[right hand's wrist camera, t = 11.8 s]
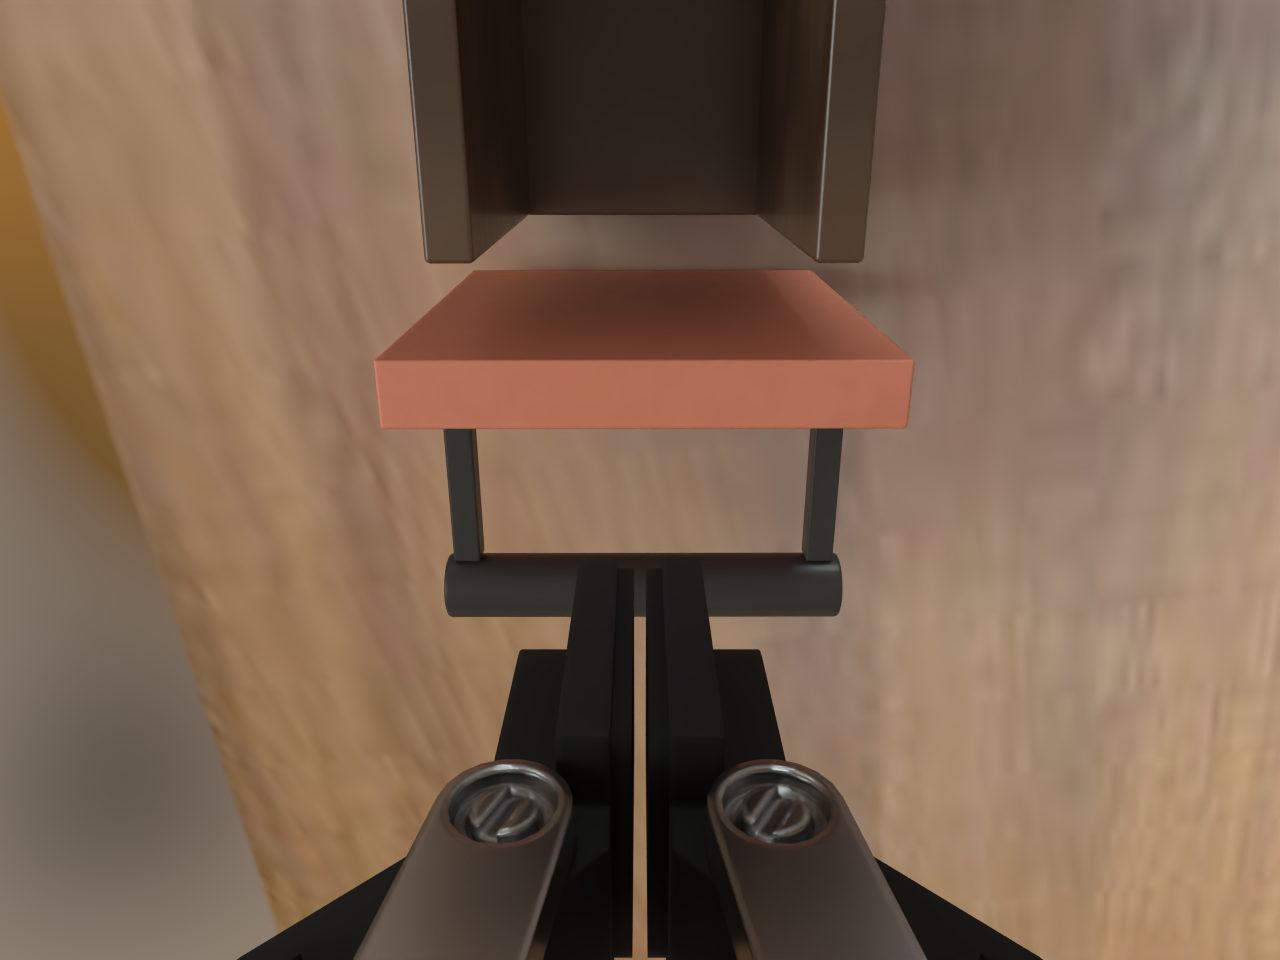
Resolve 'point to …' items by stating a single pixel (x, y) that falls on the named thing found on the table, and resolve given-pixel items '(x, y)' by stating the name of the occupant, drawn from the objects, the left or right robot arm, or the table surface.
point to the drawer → (643, 299)
